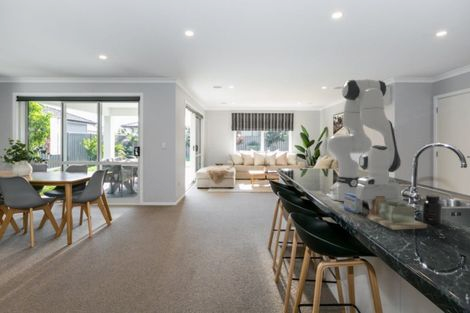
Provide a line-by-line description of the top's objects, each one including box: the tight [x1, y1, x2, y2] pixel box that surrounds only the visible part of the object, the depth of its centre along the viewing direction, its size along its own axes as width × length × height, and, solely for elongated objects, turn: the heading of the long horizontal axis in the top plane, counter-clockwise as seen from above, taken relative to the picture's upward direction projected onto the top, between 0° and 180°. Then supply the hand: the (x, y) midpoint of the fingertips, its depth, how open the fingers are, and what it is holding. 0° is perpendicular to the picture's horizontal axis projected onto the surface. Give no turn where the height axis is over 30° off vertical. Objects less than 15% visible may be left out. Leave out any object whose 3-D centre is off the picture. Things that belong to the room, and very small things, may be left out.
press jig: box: [366, 201, 428, 231], centre depth 119 cm, size 16×16×8 cm
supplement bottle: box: [422, 194, 443, 225], centre depth 120 cm, size 7×7×12 cm
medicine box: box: [343, 193, 363, 214], centre depth 138 cm, size 8×4×9 cm, turn 23°
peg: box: [368, 196, 385, 215], centre depth 129 cm, size 4×4×10 cm
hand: (376, 208), depth 129 cm, fingers closed on peg, 4 cm apart
